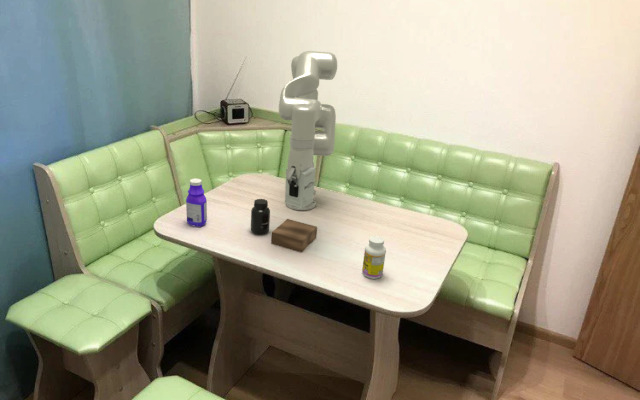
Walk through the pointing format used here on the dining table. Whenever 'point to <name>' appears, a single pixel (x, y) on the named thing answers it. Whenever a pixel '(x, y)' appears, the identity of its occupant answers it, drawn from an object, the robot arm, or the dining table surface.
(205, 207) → the bottle
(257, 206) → the supplement bottle
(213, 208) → the dining table surface
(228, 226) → the dining table surface
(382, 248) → the supplement bottle
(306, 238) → the walnut block
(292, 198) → the supplement box
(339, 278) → the dining table surface
